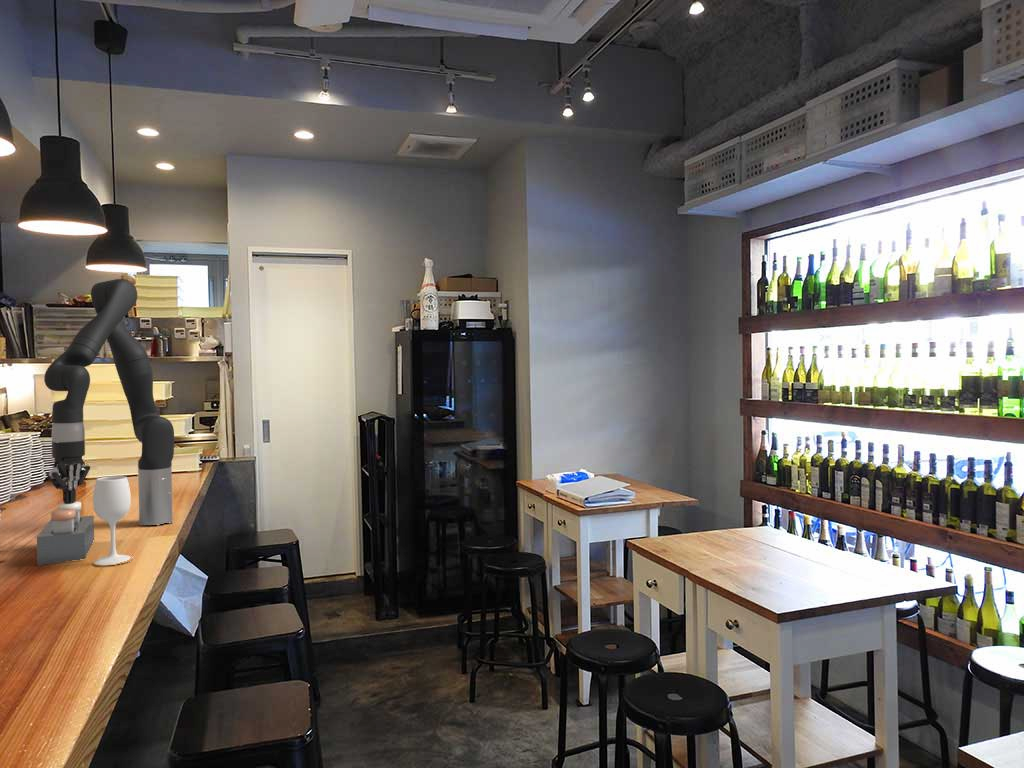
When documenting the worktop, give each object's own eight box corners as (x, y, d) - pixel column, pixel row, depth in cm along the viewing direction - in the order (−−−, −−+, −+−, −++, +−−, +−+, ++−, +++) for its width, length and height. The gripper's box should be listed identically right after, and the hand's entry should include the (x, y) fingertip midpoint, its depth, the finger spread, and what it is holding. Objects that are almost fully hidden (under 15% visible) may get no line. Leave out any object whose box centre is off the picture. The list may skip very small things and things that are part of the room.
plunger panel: (94, 540, 196) (93, 515, 196) (84, 560, 176) (84, 532, 176) (51, 544, 192) (51, 519, 191) (37, 565, 172) (36, 537, 172)
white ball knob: (82, 526, 193) (82, 500, 192) (80, 530, 188) (80, 504, 188) (60, 528, 190) (60, 502, 190) (57, 532, 186) (57, 506, 186)
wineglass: (124, 555, 181) (122, 474, 180) (139, 561, 176) (137, 477, 175) (87, 562, 174) (85, 478, 174) (101, 569, 169) (99, 482, 168)
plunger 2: (77, 535, 182) (76, 508, 182) (74, 539, 177) (74, 512, 177) (53, 537, 180) (52, 510, 179) (50, 541, 175) (49, 514, 175)
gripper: (75, 436, 196) (76, 498, 196) (35, 441, 183) (36, 507, 183) (99, 437, 194) (100, 499, 195) (60, 442, 181) (62, 508, 182)
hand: (69, 503), depth 189 cm, fingers closed
